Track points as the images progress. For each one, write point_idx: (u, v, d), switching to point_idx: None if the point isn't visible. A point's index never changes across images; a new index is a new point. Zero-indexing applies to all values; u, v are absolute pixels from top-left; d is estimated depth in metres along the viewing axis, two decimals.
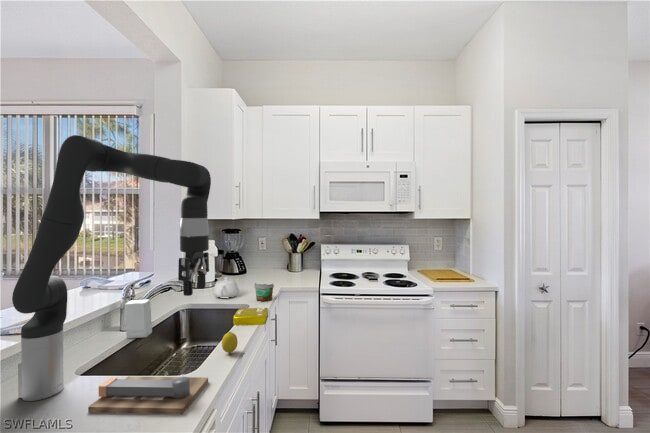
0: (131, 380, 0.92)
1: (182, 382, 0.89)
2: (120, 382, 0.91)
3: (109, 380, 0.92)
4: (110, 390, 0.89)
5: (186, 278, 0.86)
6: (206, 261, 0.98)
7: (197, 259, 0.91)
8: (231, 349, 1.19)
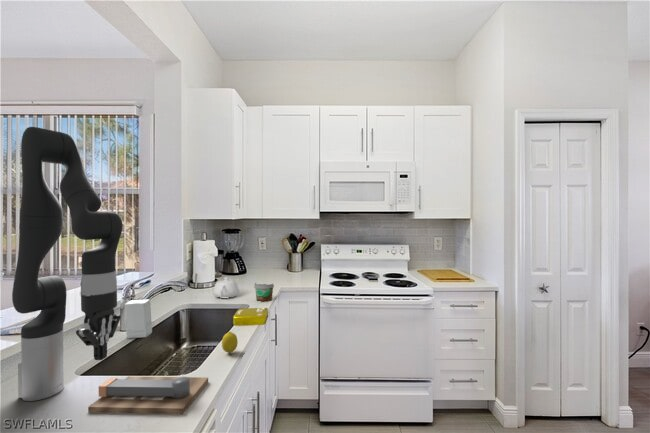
0: (131, 380, 0.92)
1: (182, 382, 0.89)
2: (120, 382, 0.91)
3: (109, 380, 0.92)
4: (110, 390, 0.89)
5: (94, 345, 0.80)
6: (114, 324, 0.87)
7: (100, 321, 0.81)
8: (231, 349, 1.19)
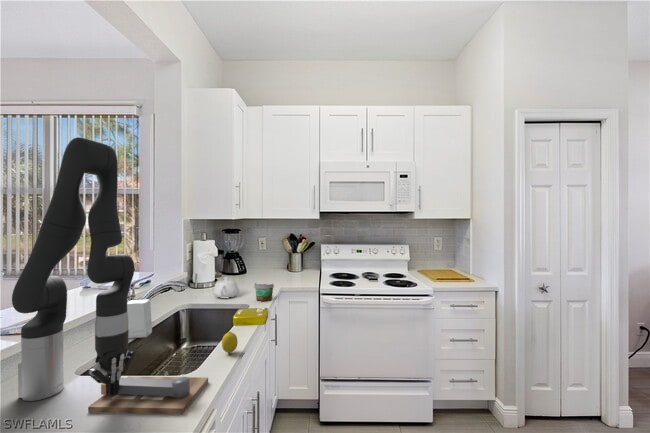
0: (133, 379, 0.92)
1: (182, 382, 0.89)
2: (122, 380, 0.92)
3: None
4: None
5: (104, 383, 0.84)
6: (127, 361, 0.91)
7: (110, 360, 0.85)
8: (231, 349, 1.19)
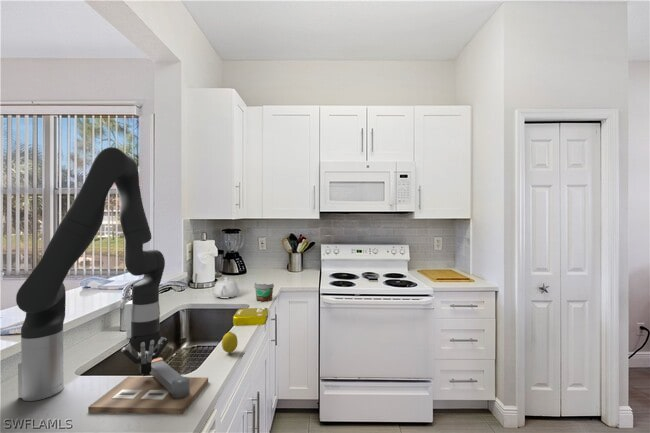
0: (165, 365, 1.01)
1: (179, 382, 0.89)
2: (159, 364, 1.02)
3: (156, 359, 1.05)
4: None
5: None
6: (160, 347, 1.01)
7: (140, 344, 0.96)
8: (231, 349, 1.19)
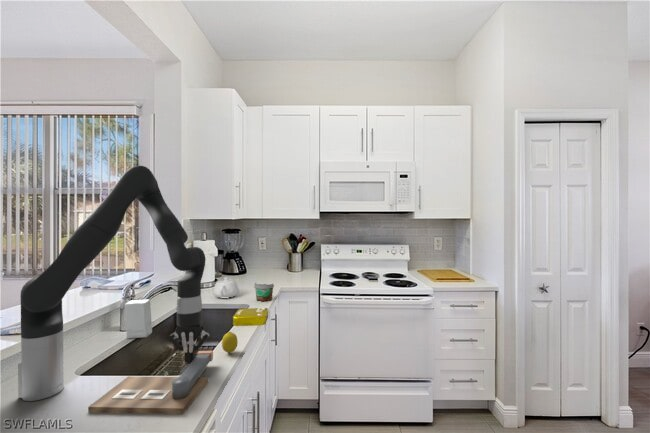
0: (203, 360, 1.05)
1: (176, 382, 0.89)
2: (202, 356, 1.07)
3: (207, 351, 1.11)
4: None
5: None
6: None
7: None
8: (231, 349, 1.19)
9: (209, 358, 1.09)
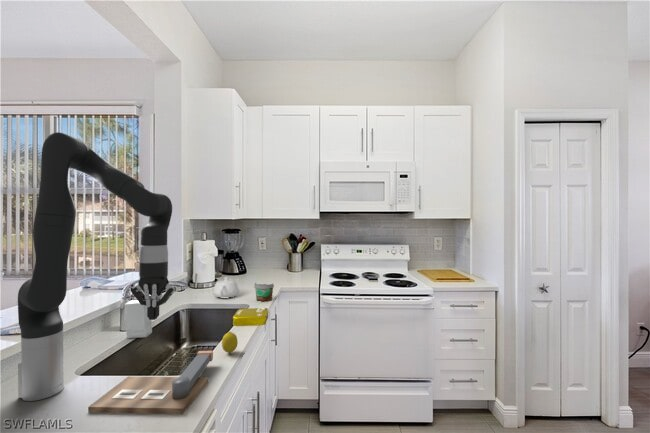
0: (203, 360, 1.05)
1: (176, 382, 0.89)
2: (202, 356, 1.07)
3: (207, 351, 1.11)
4: None
5: None
6: (164, 294, 0.96)
7: None
8: (231, 349, 1.19)
9: (209, 358, 1.09)
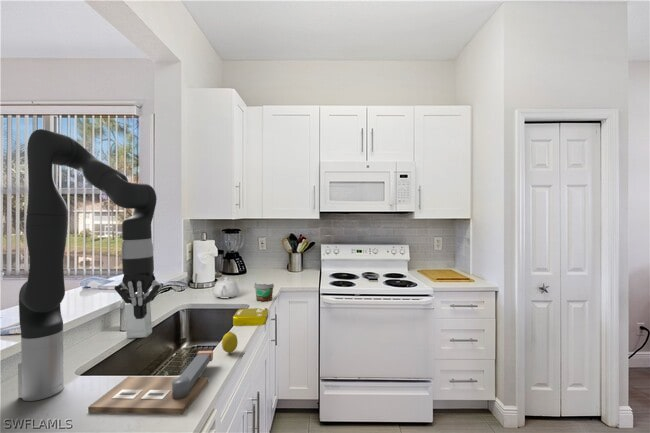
0: (203, 360, 1.05)
1: (176, 382, 0.89)
2: (202, 356, 1.07)
3: (207, 351, 1.11)
4: None
5: None
6: (151, 291, 0.90)
7: None
8: (231, 349, 1.19)
9: (209, 358, 1.09)
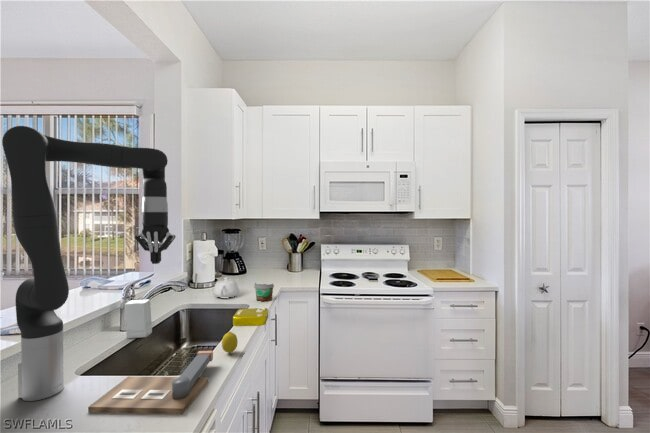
0: (203, 360, 1.05)
1: (176, 382, 0.89)
2: (202, 356, 1.07)
3: (207, 351, 1.11)
4: None
5: None
6: (165, 241, 1.07)
7: None
8: (231, 349, 1.19)
9: (209, 358, 1.09)
